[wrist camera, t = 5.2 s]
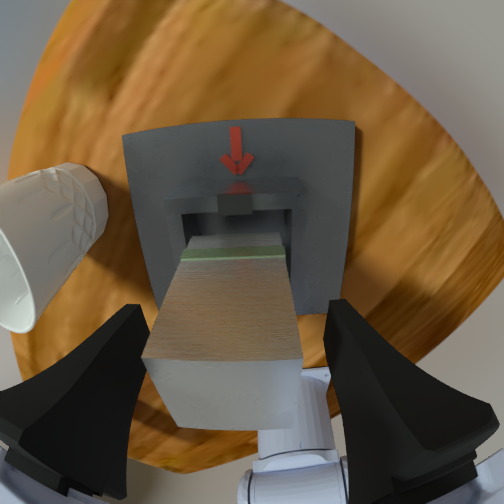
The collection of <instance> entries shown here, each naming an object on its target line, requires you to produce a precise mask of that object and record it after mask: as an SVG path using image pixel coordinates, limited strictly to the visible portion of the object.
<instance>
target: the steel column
mask: <svg viewBox="0 0 504 504" xmlns="http://www.w3.org/2000/svg"><path fill="white" fill-rule="evenodd" d="M141 358H142V361H143V363H144V365H145V367H146V369H147V371H148V373H149V375H150V377H151V379H152V381H153V383H154V385H155V387H156V389H157V390H158V392H159V394H160V396H161V398H162V400H163V402H164V403H165V405H166V407H167V409H168V410H169V412H170V414H171V416H172V417H173V419H174V421H175V422H176V424H177V426H178V427H185V428H197V429H213V430H275V429H291V428H293V423H294V417H295V411H296V405H297V399H298V393H299V386H300V380H301V373H302V366H303V353H302V347H301V341H300V336H299V330H298V324H297V319H296V313H295V308H294V303H293V297H292V292H291V287H290V282H289V276H288V271H287V266H286V253H285V249H284V245H283V246H282V241H281V237H280V233H252V234H228V235H206V236H192V237H191V239H190V241H189V243H188V246H187V248H186V249H184V250H183V253H182V255H181V257H180V263H179V266H178V268H177V270H176V272H175V275H174V277H173V279H172V282H171V284H170V286H169V289H168V291H167V293H166V296H165V298H164V300H163V303H162V305H161V308H160V310H159V313H158V315H157V318H156V320H155V323H154V325H153V328H152V330H151V333H150V335H149V338H148V340H147V343H146V346H145V348H144V351H143V354H142V356H141Z"/></svg>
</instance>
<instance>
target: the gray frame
mask: <svg viewBox="0 0 504 504" xmlns="http://www.w3.org/2000/svg"><path fill="white" fill-rule="evenodd" d="M122 140H123V148H124V156H125V163H126V170H127V176H128V183H129V188H130V194H131V200H132V205H133V210H134V215H135V220H136V225H137V230H138V234H139V239H140V243H141V247H142V251H143V256H144V260H145V264H146V267H147V271H148V275H149V279H150V283H151V286H152V290H153V293H154V297H155V300H156V303H157V307H158V310H160V308H161V305H162V303H163V300H164V298H165V296H166V293H167V291H168V289H169V286H170V284H171V282H172V279H173V277H174V275H175V272H176V270H177V268H178V266H179V263H180V257H181V255H182V253H183V250H184V249H186V248H187V246H188V243H189V241H190V239H191V237H192V236H206V235H228V234H252V233H280V237H281V241H282V246H283V245H284V249H285V253H286V266H287V271H288V276H289V282H290V287H291V292H292V297H293V303H294V308H295V313H296V315H304V314H319V313H328V306H329V300H336V299H340V293H341V286H342V280H343V273H344V266H345V259H346V251H347V243H348V234H349V224H350V214H351V202H352V189H353V172H354V147H355V121H346V120H330V119H305V118H267V119H242V120H226V121H214V122H203V123H194V124H186V125H178V126H171V127H164V128H158V129H152V130H146V131H141V132H135V133H130V134H126V135H122Z"/></svg>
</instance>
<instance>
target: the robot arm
mask: <svg viewBox="0 0 504 504" xmlns="http://www.w3.org/2000/svg"><path fill="white" fill-rule="evenodd" d="M149 335H150V331H149V328H148V326H147V323H146V320H145V317H144V314H143V312H142V309H141V306H140V304H126V305H125V306H123V307H122V308H121V309H120V310H119V311H117V312H116V313H115V314H114V315H113V316H112V317H111V318H110V319H108V320H107V321H106V322H105V323H104V324H103V325H102V326H101V327H100V328H98V329H97V330H96V331H95V332H94V333H93V334H92V335H91V336H89V337H88V338H87V339H86V340H85V341H83V342H82V343H81V344H80V345H79V346H77V347H76V348H75V349H74V350H73V351H71V352H70V353H69V354H68V355H66V356H65V357H64V358H62V359H61V360H59V361H58V362H56V363H55V364H54V365H52V366H51V367H49V368H47V369H46V370H44V371H42V372H41V373H39V374H37V375H36V376H34V377H32V378H30V379H28V380H26V381H24V382H22V383H20V384H18V385H16V386H13V387H11V388H8V389H6V390H3V391H0V440H1V441H3V442H4V443H5V444H6V445H8V446H9V449H8V451H6V450H5V449H4V448H2V447H1V446H0V504H110V503H107V502H104V501H101V500H99V499H96V498H93V497H92V495H93V494H95V495H97V496H100V497H102V495H106V496H109V497H112V498H115V499H118V500H122V499H124V498H126V497H127V491H126V464H127V450H128V441H129V433H130V427H131V421H132V415H133V411H134V408H135V404H136V401H137V398H138V395H139V392H140V389H141V386H142V383H143V380H144V377H145V374H146V371H147V369H146V367H145V365H144V363H143V361H142V358H141V356H142V354H143V351H144V348H145V346H146V343H147V340H148V338H149ZM323 341H324V347H325V353H326V359H327V364H328V367H321V368H311V369H302V373H301V380H300V386H299V393H298V399H297V405H296V411H295V417H294V423H293V428H291V429H275V430H258V461H253V469H249V470H247V471H246V472H245V474H244V475H243V476H242V477H241V479H240V481H239V486H238V494H237V500H238V504H504V449H500V450H498V451H497V452H496V453H494V454H492V455H491V456H489V457H488V458H486V459H485V460H483V461H481V462H480V463H478V464H477V465H474V462H473V460H474V459H476V458H477V454H476V451H475V449H476V448H477V447H478V446H480V445H481V444H482V443H484V442H485V441H486V440H487V439H488V438H489V437H491V435H493V434H494V433H495V432H496V430H497V429H498V427H499V425H500V423H499V421H498V419H497V417H496V415H495V413H494V411H493V409H492V407H491V405H490V404H489V403H486V402H483V401H481V400H478V399H476V398H473V397H471V396H468V395H466V394H464V393H462V392H460V391H458V390H456V389H454V388H451V387H450V386H448V385H446V384H444V383H442V382H441V381H439V380H437V379H436V378H434V377H433V376H431V375H429V374H428V373H426V372H425V371H423V370H422V369H420V368H419V367H417V366H416V365H415V364H414V363H412V362H411V361H410V360H408V359H407V358H406V357H404V356H403V355H402V354H401V353H399V352H398V351H397V350H396V349H395V348H394V347H393V346H392V345H390V344H389V343H388V342H387V341H386V340H385V339H384V338H383V337H382V336H381V335H380V334H379V333H378V332H377V331H376V330H375V329H374V328H373V327H372V326H371V325H370V324H369V323H368V322H367V321H366V320H365V319H364V318H363V317H362V316H361V315H360V314H359V313H358V312H357V311H356V310H355V309H354V308H353V307H352V306H351V305H350V303H349V302H348V301H347V300H346V299H336V300H329V306H328V313H327V319H326V325H325V331H324V337H323ZM331 378H332V381H333V385H334V388H335V392H336V395H337V399H338V403H339V406H340V410H341V415H342V420H343V427H344V435H345V443H346V452H347V456H342V457H340V460H339V454H338V450H337V449H336V448H335V442H334V437H333V431H332V426H331V420H330V415H329V409H328V404H327V399H326V393H327V389H328V386H329V382H330V379H331Z"/></svg>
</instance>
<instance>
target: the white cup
mask: <svg viewBox="0 0 504 504" xmlns="http://www.w3.org/2000/svg"><path fill="white" fill-rule="evenodd" d="M108 216H109V213H108V204H107V195H106V193H105V191H104V189H103V187H102V185H101V183H100V181H99V179H98V177H97V176H95V175H94V174H93V173H92V172H91V171H90V170H88V169H87V168H86V167H85V166H84V165H79V164H75V163H70V162H67V163H63V164H60V165H57V166H55V167H52V168H48V169H43V170H38V171H34V172H31V173H28V174H25V175H23V176H19V177H16V178H13V179H11V180H8V181H6V182H4V183H1V184H0V325H1V326H2V327H4V328H6V329H8V330H10V331H12V332H15V333H27V332H29V331H30V330H32V328H33V327H34V325H35V324H36V322H37V321H38V319H39V318H40V316H41V315H42V314H43V312H44V311H45V309H46V308H47V306H48V305H49V304H50V302H51V301H52V299H53V298H54V297H55V295H56V294H57V293H58V291H59V290H60V289H61V287H62V286H63V285H64V284H65V282H66V281H67V280H68V278H69V277H70V275H71V274H72V272H73V271H74V270H75V269H76V267H77V266H78V265H79V264H80V262H81V261H82V259H83V258H84V257H85V255H86V253H87V251H88V250H89V249H90V247H91V246H92V245H93V244H94V243H95V242H96V241H97V239H98V238H99V237H100V236H101V235H102V234H103V233H104V230H105V226H106V223H107V220H108Z"/></svg>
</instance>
